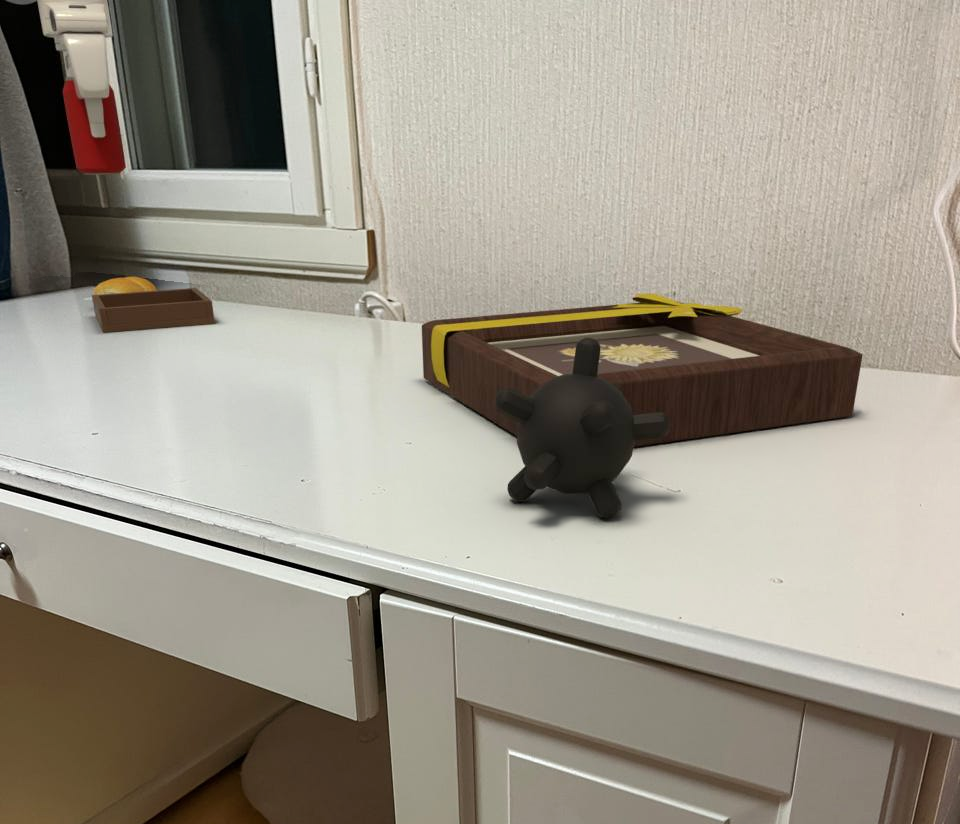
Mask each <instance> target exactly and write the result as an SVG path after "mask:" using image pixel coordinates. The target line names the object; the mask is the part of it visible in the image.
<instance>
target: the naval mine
mask: <svg viewBox="0 0 960 824" xmlns="http://www.w3.org/2000/svg"><path fill="white" fill-rule="evenodd" d="M600 351H601V348H600V344H599V343H598V341H596V340H595V339H592V338H584V339H581V340H580V341H579V342H578V343H577V345H576V350H575V358H574V366H573V374H564V375H560V376H557V377H555V378H553V379H552V380H550V381H548V382H547V383H545V384H544V385H542V386H540V387H539V388H538V389H536V390H535V391H534V392H533V393H532V394H528V395H527V396H525V395H523V394H521V393H519V392H517V391H515V390H514V389H512V388H504V389H502V390H500V391H499V392H498V393H497V394H496V396H495V399H494V405H495V408H496V411H498V412H499V413H500V414H502V415H504V416H506V417H508V418H511V419H513V420H515V421H517V422H518V433H517V436H516V446H517V448H518V451H519V454H520V458H521V460H522V463H523V465H524V467H523V468H522V469H521V470H520V471H518V473H517V474H515V475H514V476H513V477H512V479H510V480H509V482H508V484H507V493H508V496H509V497H510V498H511V499H512V500H513V501H516V502H525V501H527V500H528V499H529V498H530V497H531V496H532V495H534V493H535V492H536V491H541V490H544V489H546V488H549V489H551V490H553V491H556V492H559V493H562V494H565V495H572V494H573V495H583V494H587V495H588V497H589V499H590V501H591V503H592V506H593V507H594V510H595V512H596V514H597V515H598V516H599V517H600V518H603V519H613V518H614V517H617V516H618V514H619V513H620V512H621V510H622V507H623V503H622V500H621V498H620V495H619V494H618V492H617V490H616V488H615V486H614V484H613V482H614V481H615V480H616V479H617V478H618V477H619V476H620V474H621V473H622V471H623V470H624V469H625V467H626V466H627V465H628V463H629V462H630V460H631V458H632V456H633V452H634V448H635V447H634V442H635V440H645V439H656V438H662V437H665V436H666V435H667V434H668V432H669V430H670V421H669V419H668V417H667V416H666V415H665V414H664V413H649V414H639V415H633V413H632V409H631V406H630V405H629V403H628V402H627V400H626V399H625V398H624V396H623V395H624V394H623V392H622V390H621V387H619V386H618V385H616V384H614V383H611V384H610V383H609V382H608V381H606V380H605V379H603V378H599V377H597V373H598V365H599V358H600Z"/></svg>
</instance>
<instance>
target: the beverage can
mask: <svg viewBox="0 0 960 824" xmlns="http://www.w3.org/2000/svg"><path fill="white" fill-rule="evenodd" d="M62 96H63V102H64V108H65V113H66V120H67V124H68V130H69V135H70V141H71V147H72V152H73V157H74V161H75V167H76V170H78V171H79V172H81V173H83V175H85V176H91V175H92V176H105V175H106V176H107V175H120V174H121V173H122V172H123V171H124V170H125V169H126V168H127V165H126V158H125V153H124V152H125V150H124V146H123V145H124V144H123V139H122V131H121V127H120V126H121V125H120V120H119V114H118V107H117V101H116V97H115V91H114V89H113V87H112V86H111V85H110V83H109V96H108V97H107V98H104V99H102V105H103V118H104V128H105V136H104V137H93V136H92V135H91V131H90V125H89V119H88V114H87V110H86V106H85V100H84V99H79V98H78V97H77V94H76V90H75V85H74V80H73V77H67V76H66V77H65V82H64V84H63V88H62Z"/></svg>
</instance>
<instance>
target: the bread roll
mask: <svg viewBox="0 0 960 824" xmlns="http://www.w3.org/2000/svg"><path fill="white" fill-rule="evenodd" d="M144 291H158V289H157V287H156V286H155V285H154V284H153V283H152V282H151V281H149V280H147V279H145V278H143V277H138V276H125V277H115V278H110V279H107V280H105V281H101V282H100V283H98V284H97V285H96V286H95V288H94V290H93V291H92V294H91V296H92V295H100V294H114V293H129V292H144ZM92 303H93V300H92Z"/></svg>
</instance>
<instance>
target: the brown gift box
mask: <svg viewBox="0 0 960 824" xmlns="http://www.w3.org/2000/svg"><path fill="white" fill-rule="evenodd" d="M631 300H632V301H634V302H631V303H615V304H609V305H599V306H598V305H597V306H585V307H575V308H573V307H572V308H562V309H561V308H560V309H550V310H549V309H548V310H538V311H525V312H516V313H515V312H514V313H506V314H505V313H503V314H492V315H479V316H467V317H457V318H445V319H443V318H442V319H434V320H429V321H427V322H425V323H423V324H421V346H422V347H421V348H422V374H423V379H424V380H425V381H427V382H428V383H430V384H431V385H434V386H435V387H436V388H439V389H440V390H441V391H443V392H444V393H447V394H448V395H449V396H451V397H453V398H455V399H456V400H457V401H459V402H461V403H463V404H464V405H465V406H467V407H469V408H470V409H472V410H473V411H475V412H477V413H478V414H480V415H482V416H483V417H485V418H486V419H488V420H490V421H491V422H493V423H494V424H496V425H497V426H499V427H501V428H502V429H504V430H506V431H507V432H508V433H510V434H512V435H514V436H515V437H517V433H518V422H517V421H515V420H513V419H511V418H508V417H506V416H504V415H502V414H500V413H499V412H498V411H496V408H495V405H494V399H495V396H496V394H497V393H498V392H499V391H500V390H502V389H504V388H512V389H514V390H515V391H517V392H519V393H521V394H523V395H525V396H527V395H528V394H532V393H533V392H534V391H535V390H536V389H538V388H539V387H540V386H542V385H544V384H545V383H547V382H548V381H550V380H552V379H553V378H555V377H557V376H560V375H564V374H573V366H574V358H575V350H576V345H577V343H578V342H579V341H580V340H581V339H584V338H592V339H595V340H596V341H598V343H599V344H600V348H601V351H600V358H599V365H598V373H597V377H599V378H603V379H605V380H606V381H608V382H609V383H610V384H611V383H614V384H616V385H618V386H619V387H621V390H622V392H623V394H624V395H623V396H624V398H625V399H626V400H627V402H628V403H629V405H630V406H631V409H632V413H633V415H639V414H649V413H664V414H665V415H666V416H667V417H668V419H669V421H670V430H669V432H668V434H667V435H666V436H665V437H662V438H656V439H645V440H635V442H634V448H635V447H642V446H643V447H644V446H648V445H649V446H650V445H655V444H662V443H670V442H671V443H672V442H676V441H677V442H678V441H684V440H691V439H698V438H706V437H713V436H719V435H721V436H722V435H727V434H732V433H733V434H734V433H740V432H748V431H755V430H762V429H763V430H764V429H769V428H775V427H784V426H790V425H797V424H804V423H812V422H813V423H814V422H819V421H826V420H833V419H841V418H847V417H852V416H853V414H854V407H855V402H856V398H857V397H856V396H857V391H858V385H859V384H858V383H859V379H860V372H861V367H862V363H863V362H862V361H863V353H861V352H859V351H857V350H855V349H854V348H850V347H848V346H844V345H841V344H836V343H833V342H828V341H826V340H822V339H819V338H815V337H811V336H807V335H803V334H799V333H795V332H792V331H789V330H784V329H780V328H777V327H773V326H770V325H766V324H762V323H758V322H754V321H751V320H748V319H745V318H739V317H736V316H738V315H740V314H741V313H742V312H743V309H742V308H740V307H736V306H735V307H734V306H725V305H724V306H723V305H704V304H700V303H697V302H689V303H685V302H681V301H677V300H673V299H671V298H668V297H666V296H662V295H659V294H656V293H639V294H636V295H634V296H633V297H632V298H631Z"/></svg>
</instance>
